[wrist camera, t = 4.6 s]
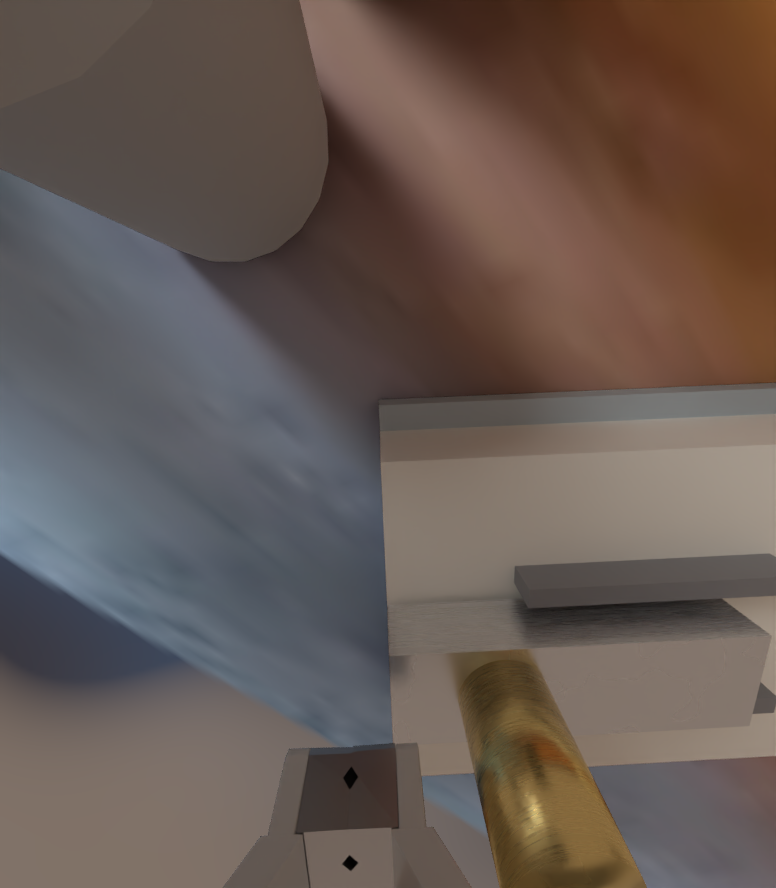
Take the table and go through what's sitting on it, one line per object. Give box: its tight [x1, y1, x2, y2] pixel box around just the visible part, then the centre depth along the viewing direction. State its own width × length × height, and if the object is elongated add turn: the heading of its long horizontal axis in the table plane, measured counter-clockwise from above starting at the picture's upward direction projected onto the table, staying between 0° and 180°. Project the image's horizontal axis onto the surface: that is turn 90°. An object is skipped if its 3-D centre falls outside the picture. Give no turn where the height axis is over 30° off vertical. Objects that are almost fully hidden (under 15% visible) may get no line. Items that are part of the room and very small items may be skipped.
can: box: [0, 0, 329, 262], centre depth 8 cm, size 8×8×12 cm
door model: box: [379, 383, 776, 776], centre depth 13 cm, size 24×14×12 cm, turn 92°
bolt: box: [387, 598, 772, 888], centre depth 9 cm, size 10×3×6 cm, turn 92°
